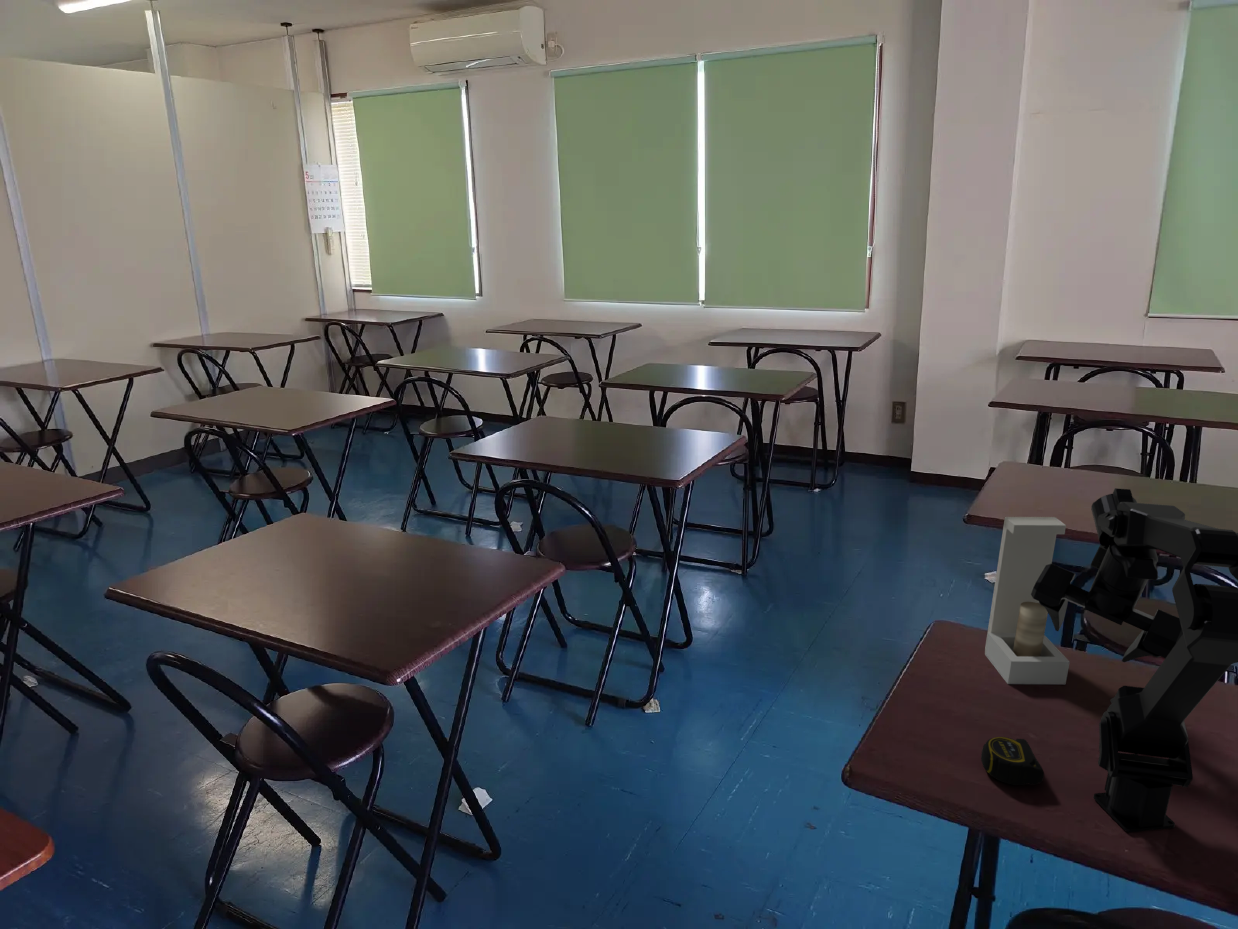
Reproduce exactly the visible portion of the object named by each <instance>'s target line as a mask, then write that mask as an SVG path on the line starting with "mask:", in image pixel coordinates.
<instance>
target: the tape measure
mask: <svg viewBox="0 0 1238 929" xmlns="http://www.w3.org/2000/svg"><path fill="white" fill-rule="evenodd" d="M980 761H981V763H982V766H983V768H984V770H985V771H986V772H987V773H988V774H989V775H990V776H991V777H993V778H994V779H996V780H998V781H1000V782H1001V783H1004V784H1007V785H1013V786H1018V785H1019V786H1023V785H1040V784H1042V782H1043V780H1044V777H1045V772H1044V769H1043V767H1042V765H1041V764H1040V763H1039V760H1037V758H1036V756H1035V755H1034V752H1033V750H1032V748H1031V746H1030V744H1029V742H1028V741H1027V740H1026V739H1025V738H1016V739H1013V738H1010V737H1006V736H995V737H992V738H989V739H988V740H986V742H985V743H984V744H983V746H982V748H981V755H980Z"/></svg>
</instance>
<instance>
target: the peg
mask: <svg viewBox="0 0 1238 929" xmlns="http://www.w3.org/2000/svg"><path fill="white" fill-rule="evenodd" d="M1048 615H1049V614H1048V612H1047V610H1046V609H1045V607H1043V606H1041V605H1040V604H1039V603H1036V602H1023V603H1021V604H1020V610H1019V617H1018V623H1017V629H1016V635H1015V641H1014V647H1013V652H1014V654H1015V655H1016V656H1022V657H1040V656H1041V650H1042V644H1043V639H1044V635H1045V633H1046V626H1047V620H1048Z"/></svg>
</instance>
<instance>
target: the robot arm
mask: <svg viewBox="0 0 1238 929" xmlns="http://www.w3.org/2000/svg"><path fill="white" fill-rule="evenodd" d="M1091 514H1092V517H1093V520H1094V525H1095V530H1096V533H1097V534H1096V535H1097V537H1098V542H1099V544H1100V545H1099V546H1098V548H1097V550H1096V552H1095V555H1094V557H1093V558H1092V561H1091V563H1090V566H1091V567H1093V568H1095V569H1098V570H1097V571H1096V574H1095V577H1094V580H1093V582H1092V584H1091V586H1090V589H1089V591H1087V590H1085V589H1083V588H1081V587H1078V586H1076V585H1075V584H1073V583H1072V582H1073V581H1074V579H1075V576H1076V573H1075V572H1073V571H1070V570H1067V569H1065V568H1063V567H1061V566H1058V565H1056V564H1053V563H1052V564H1048V565H1046V566H1045V568H1044V569H1043V571H1042V573H1041V575H1040V576H1039V578H1038V580H1037V581H1036V583H1035V585H1034V587H1033V590H1032V593H1031V596H1032V597H1033V599H1035V600H1037V601H1039V604H1040V605H1041V606H1043V607H1045V609H1046V610H1047V612H1048V615H1049V617H1050V619H1051V621H1052V625H1053V627H1054V630H1055V631H1056V632H1059V631H1060V630H1061V627H1062V625H1063V623H1064V620H1065V616H1066V612H1067V608H1068V602H1070V603H1071V604H1075V605H1077V606H1079V607H1081V608H1083V609H1084V610H1086V611H1088V612H1089V613H1092V614H1094V615H1097V616H1099V617H1102V618H1104V619H1106V620H1108V621H1110V622H1113V623H1115V624H1117V625H1119V626H1122V624H1124V623H1126V624H1128V625H1131V626H1133V627H1134V628H1137V629H1140V630H1141V632H1139V634H1138V635H1137V637H1136V638H1135V639H1134V640H1133V641H1132V643H1131V644H1130V646H1128V648H1127V649H1126V651H1125V653H1124V655H1123V657H1122V659H1121V662H1123V663H1126V662H1129V661H1132V660H1135V659H1138V658H1144V657H1149V656H1151V657H1154V658H1160V657H1162V658H1164V660H1163V661H1162V663H1161V664H1160V665H1159V666H1158V668H1157V669H1156V670H1155V672H1154V674H1153V675H1152V676H1151V677H1150V680H1149V681H1148V682H1147V683H1146V685H1145V686H1144V687H1140V686H1130V685H1122V686H1121V687H1119V688H1118V689H1117V691H1116V694H1115V696H1113V697H1112V698H1110V699H1109V700H1110V703H1111V704H1109V706H1108V707H1107V709H1106V710H1105V711H1104V712H1103V714H1102V716H1101V717H1100V722H1099V724H1098V730H1099V731H1098V732H1099V742H1098V752H1099V756H1098V761H1097V764H1098V766H1099V768H1102V769H1103V770H1105V771H1107V776H1106V781H1105V786H1104V792H1096V793H1094V794H1093V800H1095V802H1097V804H1098V805H1100V807H1101V808H1103V810H1104V811H1105V812H1106V813H1107V814H1108V815H1109V816H1110V817H1111V818H1112V819H1113V820H1114V821H1115V822H1116V824H1118V825H1119V826H1120V827H1121V828H1122V829H1123V830H1124V831H1125V832H1128V833H1138V832H1148V831H1155V830H1156V831H1157V830H1167V829H1174V828H1175V825H1176V823H1175V821H1173V820H1172V819H1171V818H1170V817H1169V816H1168V815H1167V811H1168V807H1169V803H1170V798H1171V794H1172V790H1173V786H1174V785H1175V786H1181V787H1182V788H1189V786H1190V784H1191V782H1192V781H1193V778H1194V776H1193V775H1194V774H1193V768H1192V759H1191V754H1190V746H1189V739H1190V738H1189V736H1188V729H1187V726H1186V723H1185V720H1186V719H1187V718H1188V716H1189V715H1190V714H1192V712H1193V711H1194V710H1195V708H1196V707H1197V706H1198V704H1200V702H1201V701H1202V700H1203V699H1204V697H1205V696H1206V695H1208V693H1209V692H1210V690H1211V689H1212V688H1214V686H1215V685H1216V683H1218V681H1219V680H1220V679H1221V677H1222V676H1223V675H1224V674H1225V673H1226V672H1227V670H1228V669H1229V668H1230V667H1231V665H1233V664H1237V663H1238V587H1237V586H1227V585H1226V586H1225V585H1217V584H1216V585H1214V584H1205V583H1194V582H1193V577H1192V574H1191V570H1192V569H1193V567H1194V565H1196V566H1205V567H1206V566H1207V567H1217V568H1227V569H1228V571H1229V573H1230V575H1232V577H1233V578H1235V579H1236V580H1237V581H1238V532H1236V531H1234V530H1233V529H1225V528H1224V529H1223V528H1218V527H1217V528H1216V527H1213V526H1209V525H1206V524H1202V523H1198V522H1195V521H1193V520H1192V521H1190V520H1187V519H1186V513H1185V512H1183V511H1182V510H1181V509H1180V508H1178V507H1177V506H1175V505H1172V504H1171V505H1169V504H1158V503H1156V504H1155V503H1145V502H1143V503H1141V502H1140V503H1139V502H1138V501H1137V499H1136V498H1134V496H1133V494H1132V490H1131V489H1129V488H1128V489H1127V488H1114V490H1113V492H1112V493H1109V494H1105V495H1103V496H1100V497H1099V498H1098V499H1096V501H1093V502H1092V504H1091ZM1157 550H1158V551H1162V552H1165V553H1166V554H1170V555H1172V556H1175V557H1178V558H1180V561H1181V565H1182V567H1183V568H1182V570H1181V572H1180V573H1179V575H1178V577H1177V579H1176V581H1175V583H1174V584H1173V586H1172V589H1171V592H1172V597H1173V600H1174V604H1175V606H1176V610H1177V614H1178V616H1175V615H1174V614H1172V613H1168V612H1166V611H1164V610H1161V609H1159V608H1158V609H1157V610H1156V612H1155V614H1154V616H1153V615H1151V614H1149V613H1146V612H1144V611H1142V610H1139V609H1136V608H1135V607H1136V605H1137V604H1138V602H1139V600H1140V597H1141V596H1142V594H1143V592H1144V589H1145V587H1146V585H1147V583H1148V581H1149V580H1150V581H1157V580H1158V578H1159V576H1158V575H1159V573H1158V568H1157V564H1158V562H1159V555H1158V552H1157Z"/></svg>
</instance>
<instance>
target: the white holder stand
mask: <svg viewBox="0 0 1238 929" xmlns="http://www.w3.org/2000/svg"><path fill="white" fill-rule="evenodd" d="M1066 527H1067V524H1065V523H1064V522H1062V521H1061V519H1058V518H1057V517H1056V516H1005V517H1004V520H1003V527H1002V533H1001V534H1002V535H1001V540H1000V547H999V554H998V560H997V568H996V574H995V581H994V588H993V592H992V593H993V594H992V600H991V608H990V614H989V615H990V616H989V620H988V626H987V627H988V628H987V633H986V634H987V635H986V639H985V640H986V641H985V648H984V655H985V657H986V658H987V659H988V660H989V662H990V663H991V665H992V666H994V668H995V669H996V670H997V672H998V674H999V675H1000V676H1001V678H1002V679H1003V680H1004V681H1005V683H1006V684H1007V685H1066V683H1067V679H1068V672H1069V667H1070V660H1069V659H1068V658H1067V657H1066V656H1065V655H1064V653H1062V652H1061V650H1059V649H1058V648H1057V647H1056V645H1055V644H1054V643H1053V642H1052V641H1051V640H1050V639H1049V638H1048V637H1047V636H1046V634H1044V639H1043V644H1042V650H1041V656H1040V657H1022V656H1016V655H1015V654H1014V652H1013V647H1014V641H1015V635H1016V629H1017V623H1018V617H1019V610H1020V604H1021V603H1023V602H1036V603H1039V601H1037V600H1035V599H1033V597H1032V596H1031V593H1032V590H1033V587H1034V585H1035V583H1036V581H1037V580H1038V578H1039V576H1040V575H1041V573H1042V571H1043V569H1044V568H1045V566H1046V565H1048V564H1053V557H1054V552H1055V551H1054V550H1055V546H1056V541H1057V535H1065V534H1066Z"/></svg>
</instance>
